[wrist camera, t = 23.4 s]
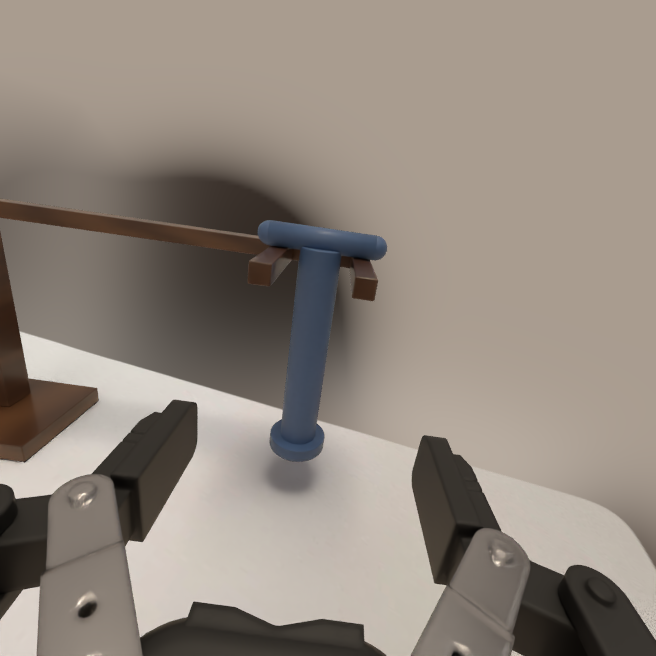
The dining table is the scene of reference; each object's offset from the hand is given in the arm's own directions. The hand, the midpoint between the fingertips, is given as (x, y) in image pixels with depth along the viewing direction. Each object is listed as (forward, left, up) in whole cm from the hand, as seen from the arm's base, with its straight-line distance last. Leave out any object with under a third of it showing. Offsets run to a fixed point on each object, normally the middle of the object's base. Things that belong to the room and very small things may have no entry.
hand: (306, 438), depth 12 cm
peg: (+1, -14, -11) cm, 18 cm away
